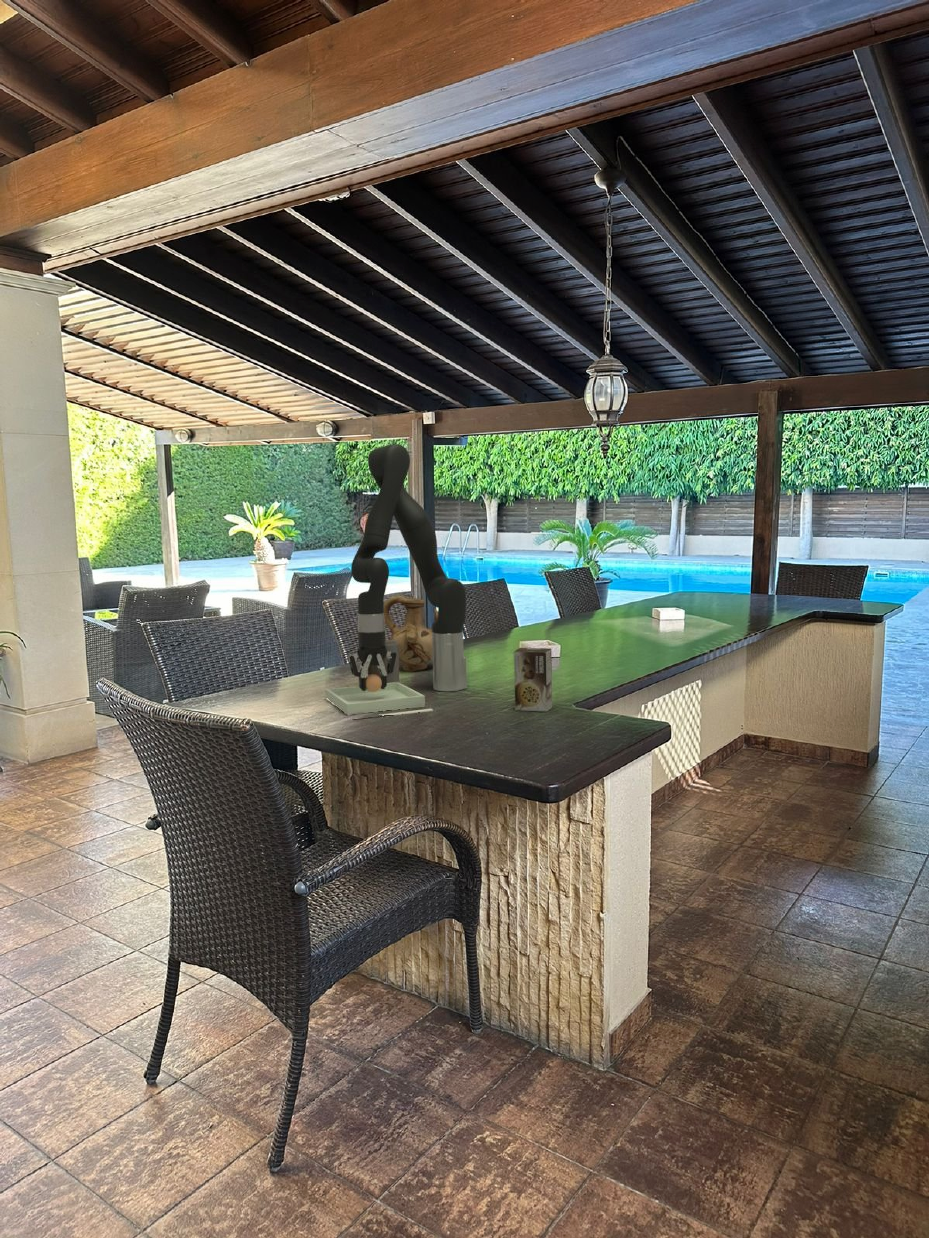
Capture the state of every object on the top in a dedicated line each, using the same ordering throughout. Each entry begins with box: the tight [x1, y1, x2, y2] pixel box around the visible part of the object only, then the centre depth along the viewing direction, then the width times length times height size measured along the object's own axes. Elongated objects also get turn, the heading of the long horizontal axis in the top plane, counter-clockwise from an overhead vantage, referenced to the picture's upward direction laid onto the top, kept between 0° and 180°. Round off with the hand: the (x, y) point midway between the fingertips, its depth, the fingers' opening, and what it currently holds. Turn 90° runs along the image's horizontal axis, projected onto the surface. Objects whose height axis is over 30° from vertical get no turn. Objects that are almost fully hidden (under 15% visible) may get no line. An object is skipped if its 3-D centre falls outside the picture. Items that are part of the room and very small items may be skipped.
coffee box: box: [513, 647, 553, 713], centre depth 235 cm, size 9×6×16 cm
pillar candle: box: [367, 639, 400, 683], centre depth 268 cm, size 10×10×15 cm
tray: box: [324, 681, 426, 714], centre depth 246 cm, size 22×22×3 cm
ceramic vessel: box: [383, 595, 438, 672], centre depth 296 cm, size 18×19×25 cm
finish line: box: [380, 708, 434, 716], centre depth 232 cm, size 22×2×1 cm, turn 114°
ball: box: [365, 674, 382, 692], centre depth 246 cm, size 5×5×5 cm
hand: (373, 689), depth 246 cm, fingers closed on ball, 5 cm apart
